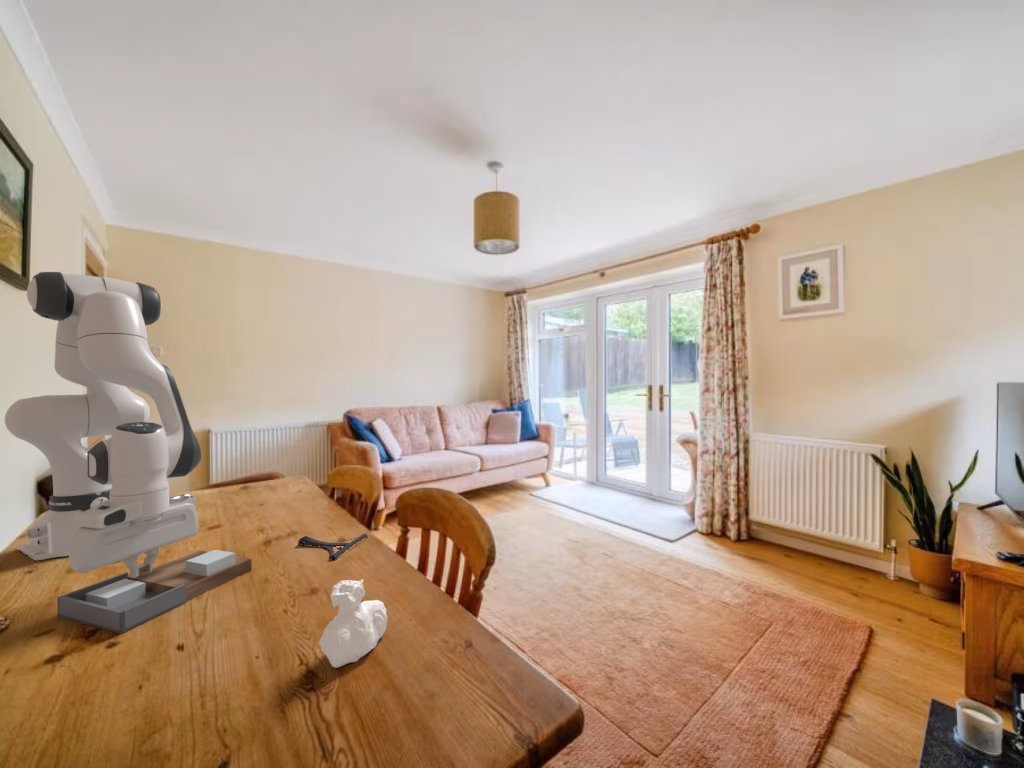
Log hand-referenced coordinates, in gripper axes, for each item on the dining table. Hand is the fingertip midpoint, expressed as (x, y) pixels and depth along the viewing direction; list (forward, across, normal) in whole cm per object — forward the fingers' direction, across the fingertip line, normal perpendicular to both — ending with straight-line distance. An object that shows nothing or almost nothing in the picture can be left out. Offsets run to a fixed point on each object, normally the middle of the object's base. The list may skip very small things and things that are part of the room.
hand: (141, 574), depth 82 cm
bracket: (+4, -30, +18) cm, 35 cm away
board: (+4, -7, +4) cm, 9 cm away
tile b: (+1, -8, +8) cm, 11 cm away
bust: (+4, +2, +52) cm, 52 cm away
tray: (+4, +5, +4) cm, 7 cm away
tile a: (+3, +4, 0) cm, 5 cm away
